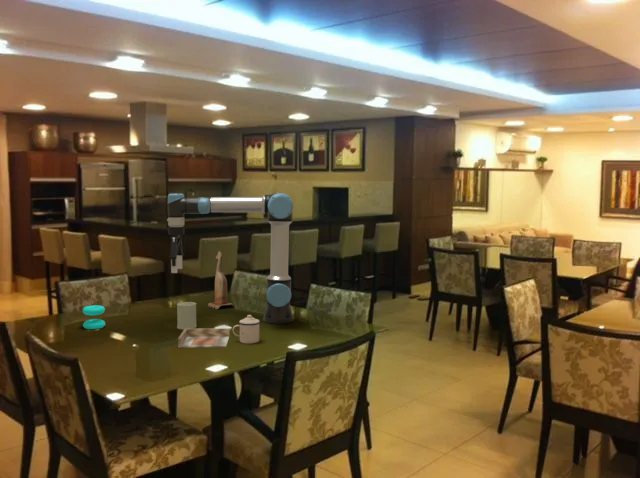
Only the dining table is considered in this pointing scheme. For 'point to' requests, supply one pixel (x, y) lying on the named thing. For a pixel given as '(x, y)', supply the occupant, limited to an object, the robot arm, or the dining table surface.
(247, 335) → the teacup with lid
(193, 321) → the can
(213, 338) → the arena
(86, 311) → the donuts
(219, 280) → the bird sculpture
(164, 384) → the dining table surface
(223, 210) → the robot arm
